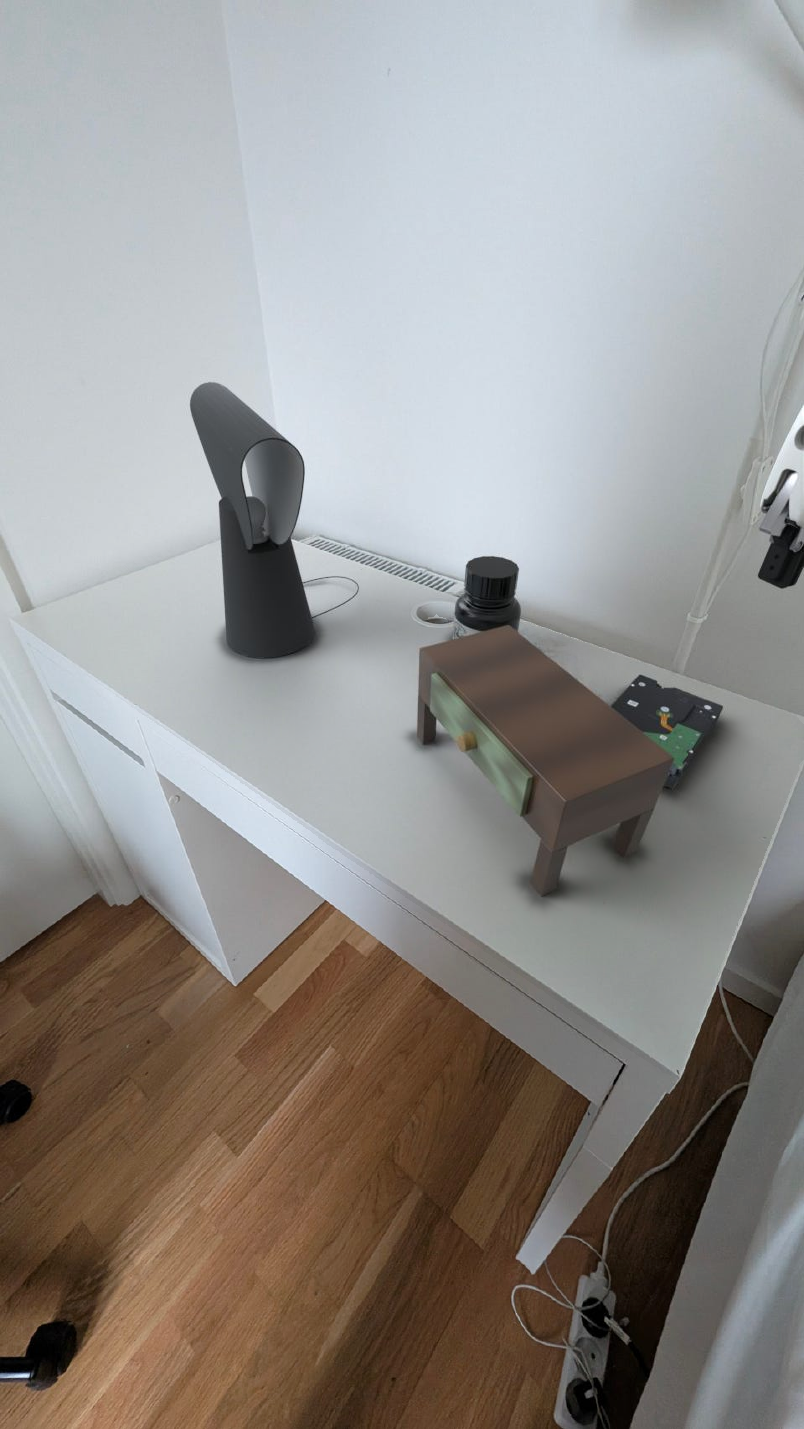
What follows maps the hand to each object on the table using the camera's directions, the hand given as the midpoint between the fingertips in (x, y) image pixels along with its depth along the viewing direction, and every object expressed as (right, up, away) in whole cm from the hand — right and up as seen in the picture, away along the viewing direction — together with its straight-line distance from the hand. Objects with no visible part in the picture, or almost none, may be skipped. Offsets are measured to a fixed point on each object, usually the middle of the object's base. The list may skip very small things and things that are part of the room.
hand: (775, 581), depth 60 cm
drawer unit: (-27, -22, 0) cm, 35 cm away
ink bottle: (-27, -4, +22) cm, 35 cm away
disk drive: (-10, -16, +7) cm, 21 cm away
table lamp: (-58, +2, +29) cm, 65 cm away
